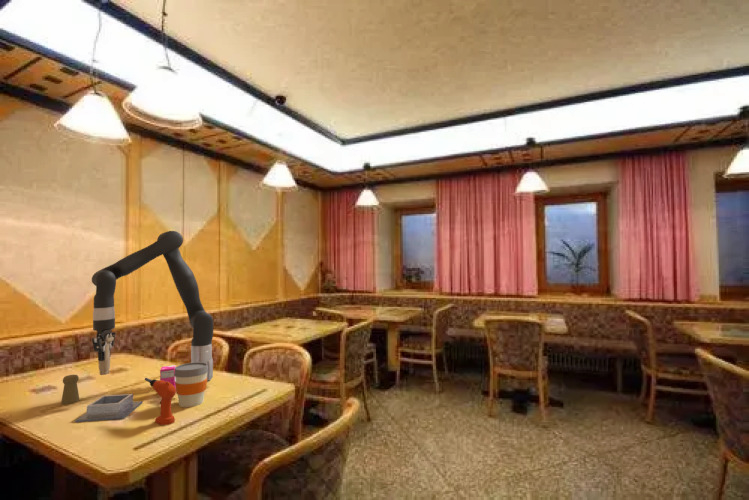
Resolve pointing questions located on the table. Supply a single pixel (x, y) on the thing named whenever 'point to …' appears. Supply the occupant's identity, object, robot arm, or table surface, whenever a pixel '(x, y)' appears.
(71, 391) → the pepper shaker
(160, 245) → the robot arm
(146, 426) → the table surface
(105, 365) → the handle
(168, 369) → the supplement box
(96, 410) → the chuck block
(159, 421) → the toy drill
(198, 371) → the reusable coffee cup
